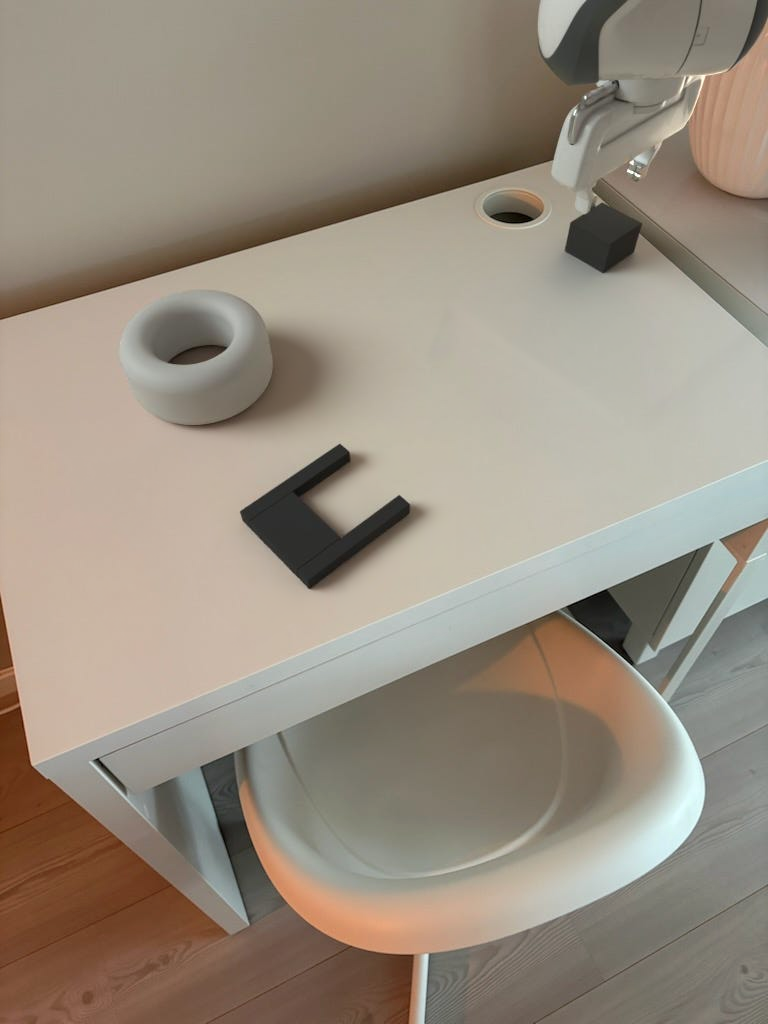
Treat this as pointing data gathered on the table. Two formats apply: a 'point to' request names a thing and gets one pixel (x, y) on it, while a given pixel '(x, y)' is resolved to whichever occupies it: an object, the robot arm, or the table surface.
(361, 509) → the table surface
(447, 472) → the table surface
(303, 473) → the base pad
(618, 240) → the black block
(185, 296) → the thick torus
